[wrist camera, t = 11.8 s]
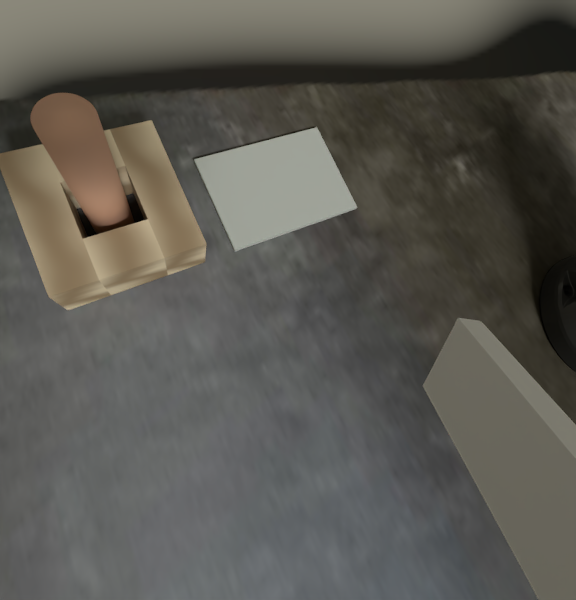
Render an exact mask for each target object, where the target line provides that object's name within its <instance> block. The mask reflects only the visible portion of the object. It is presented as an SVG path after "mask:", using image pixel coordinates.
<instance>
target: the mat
mask: <svg viewBox="0 0 576 600" xmlns="http://www.w3.org/2000/svg"><path fill="white" fill-rule="evenodd" d="M194 163H195V165H196V167H197V170H198V172H199V174H200V176H201V178H202V181H203V183H204V185H205V187H206V189H207V192H208V194H209V196H210V198H211V201H212V203H213V205H214V207H215V209H216V212H217V214H218V216H219V218H220V220H221V223H222V225H223V227H224V229H225V231H226V234H227V236H228V238H229V240H230V243H231V245H232V247H233V249H234V251H238V250H241V249H244V248H246V247H249V246H252V245H255V244H258V243H261V242H263V241H266V240H269V239H272V238H275V237H278V236H281V235H283V234H286V233H289V232H292V231H295V230H298V229H300V228H303V227H306V226H309V225H312V224H315V223H317V222H320V221H323V220H326V219H329V218H332V217H334V216H337V215H340V214H343V213H346V212H349V211H351V210H354V209H356V208H357V206H356V204H355V202H354V200H353V198H352V196H351V194H350V192H349V190H348V188H347V186H346V184H345V182H344V180H343V178H342V176H341V174H340V172H339V170H338V168H337V166H336V164H335V162H334V160H333V158H332V156H331V154H330V152H329V150H328V148H327V146H326V144H325V142H324V140H323V138H322V136H321V135H320V133H319V131H318V129H317V127H316V128H312V129H308V130H304V131H301V132H297V133H293V134H289V135H285V136H282V137H278V138H274V139H270V140H266V141H262V142H259V143H255V144H251V145H247V146H243V147H239V148H236V149H232V150H228V151H224V152H220V153H217V154H213V155H209V156H205V157H201V158H197V159H194Z"/></svg>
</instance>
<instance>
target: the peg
mask: <svg viewBox="0 0 576 600" xmlns="http://www.w3.org/2000/svg"><path fill="white" fill-rule="evenodd" d="M31 124H32V127H33V129H34V131H35V132H36V134H37V136H38V137H39V139H40V141H41V142H42V144H43V146H44V147H45V149H46V151H47V152H48V154H49V155H50V157H51V159H52V160H53V162H54V164H55V165H56V167H57V169H58V170H59V172H60V174H61V175H62V177H63V179H64V180H65V182H66V184H67V185H68V187H69V189H70V190H71V192H72V194H73V195H74V197H75V199H76V200H77V202H78V204H79V205H80V207H81V209H82V210H83V212H84V214H85V215H86V217H87V219H88V220H89V222H90V224H91V225H92V227H93V229H94V230H95V232H96V234H100V233H103V232H107V231H110V230H113V229H117V228H120V227H123V226H127V225H130V224H133V223H135V221H134V219H133V216H132V213H131V210H130V207H129V204H128V201H127V198H126V195H125V192H124V189H123V186H122V183H121V180H120V177H119V175H118V172H117V169H116V166H115V163H114V160H113V157H112V154H111V151H110V148H109V145H108V142H107V139H106V136H105V133H104V131H103V128H102V125H101V122H100V119H99V116H98V113H97V111H96V109H95V108H94V106H93V105H92V104H91V103H90V102H89V101H87V100H86V99H84V98H83V97H81V96H78V95H75V94H70V93H55V94H51V95H48V96H46V97H44V98H42V99H41V100H39V101H38V102H37V103H36V104H35V106H34V107H33V109H32V112H31Z"/></svg>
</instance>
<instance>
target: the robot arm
mask: <svg viewBox="0 0 576 600" xmlns="http://www.w3.org/2000/svg"><path fill="white" fill-rule="evenodd" d="M540 308H541V316H542V320H543V324H544V327H545V330H546V333H547V335H548V337H549V340H550V342H551V343H552V345H553V347H554V349H555V350H556V352H557V353H558V354H559V356H560V357H561V358H562V359H563V361H564V362H565V363H566V364H567V365H568V366H569V367H570V368H572V369H573V370H574V371H575V372H576V255H574V256H571V257H569V258H566V259H563V260H561V261H559V262H558V263H557V264H555V265H554V266H553V267H552V268H551V269H550V271H549V272H548V274H547V275H546V277H545V279H544V282H543V285H542V289H541V296H540ZM423 387H424V389H425V391H426V393H427V395H428V397H429V399H430V400H431V402H432V404H433V406H434V408H435V410H436V411H437V413H438V415H439V417H440V419H441V421H442V422H443V424H444V426H445V428H446V430H447V432H448V434H449V435H450V437H451V439H452V441H453V443H454V445H455V446H456V448H457V450H458V452H459V454H460V456H461V458H462V459H463V461H464V463H465V465H466V467H467V469H468V470H469V472H470V474H471V476H472V478H473V480H474V481H475V483H476V485H477V487H478V489H479V491H480V493H481V494H482V496H483V498H484V500H485V502H486V504H487V505H488V507H489V509H490V511H491V513H492V515H493V517H494V518H495V520H496V522H497V524H498V526H499V528H500V529H501V531H502V533H503V535H504V537H505V539H506V541H507V542H508V544H509V546H510V548H511V550H512V552H513V553H514V555H515V557H516V559H517V561H518V563H519V564H520V566H521V568H522V570H523V572H524V574H525V576H526V577H527V579H528V581H529V583H530V585H531V587H532V588H533V590H534V592H535V594H536V596H537V598H538V600H576V425H575V424H574V423H573V421H572V420H571V419H570V418H569V417H568V416H567V415H566V414H565V413H564V412H563V411H562V409H561V408H560V407H559V406H558V405H557V404H556V403H555V402H554V401H553V400H552V398H551V397H550V396H549V395H548V394H547V393H546V392H545V391H544V390H543V389H542V388H541V386H540V385H539V384H538V383H537V382H536V381H535V380H534V379H533V378H532V377H531V375H530V374H529V373H528V372H527V371H526V370H525V369H524V368H523V367H522V366H521V364H520V363H519V362H518V361H517V360H516V359H515V358H514V357H513V356H512V355H511V354H510V352H509V351H508V350H507V349H506V348H505V347H504V346H503V345H502V344H501V343H500V341H499V340H498V339H497V338H496V337H495V336H494V335H493V334H492V333H491V332H490V331H489V329H488V328H487V327H486V326H485V325H484V324H483V323H482V322H481V321H477V320H470V319H463V318H458V319H457V321H456V323H455V325H454V327H453V329H452V331H451V333H450V334H449V336H448V338H447V340H446V342H445V344H444V346H443V348H442V350H441V352H440V354H439V356H438V358H437V359H436V361H435V363H434V365H433V367H432V369H431V371H430V373H429V375H428V377H427V379H426V381H425V383H424V384H423Z"/></svg>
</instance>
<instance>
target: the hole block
mask: <svg viewBox="0 0 576 600" xmlns="http://www.w3.org/2000/svg"><path fill="white" fill-rule="evenodd" d="M104 133H105V136H106V139H107V142H108V145H109V148H110V151H111V154H112V157H113V160H114V163H115V166H116V169H117V172H118V175H119V177H120V180H121V183H122V186H123V189H124V192H125V195H129V194H132V193H133V194H134V196H135V199H136V201H137V203H138V206H139V208H140V210H141V213H142V215H143V217H144V220H143V221H140V222H137V223H133V224H130V225H127V226H123V227H120V228H117V229H113V230H110V231H107V232H103V233H100V234H97V235H93V236H90V237H88V236H87V234H86V231H85V229H84V226H83V224H82V221H81V219H80V216H79V214H78V211H77V209H78V208H81V207H80V205H79V204H78V202H77V200H76V199H75V197H74V195H73V194H72V192H71V190H70V189H69V187H68V185H67V184H66V182H65V180H64V179H63V177H62V175H61V174H60V172H59V170H58V169H57V167H56V165H55V164H54V162H53V160H52V159H51V157H50V155H49V154H48V152H47V151H46V149H45V147H44V146H43V144H41V145H36V146H32V147H27V148H22V149H18V150H13V151H9V152H4V153H0V169H1V172H2V174H3V177H4V180H5V182H6V185H7V188H8V190H9V193H10V196H11V198H12V201H13V204H14V206H15V209H16V212H17V214H18V217H19V220H20V222H21V225H22V228H23V230H24V233H25V235H26V238H27V241H28V243H29V246H30V249H31V251H32V254H33V257H34V259H35V262H36V265H37V267H38V270H39V273H40V275H41V278H42V281H43V283H44V286H45V289H46V291H47V294H48V296H49V298H51V299H52V300H54V301H55V302H57V303H58V304H60V305H61V306H62V307H64V308H65V309H67V310H70V309H73V308H76V307H79V306H82V305H85V304H87V303H90V302H93V301H96V300H99V299H102V298H104V297H107V296H110V295H113V294H116V293H119V292H122V291H124V290H127V289H130V288H133V287H136V286H139V285H141V284H144V283H147V282H150V281H153V280H156V279H158V278H161V277H164V276H167V275H170V274H173V273H175V272H178V271H181V270H184V269H187V268H190V267H193V266H195V265H198V264H201V263H204V262H205V254H206V242H205V239H204V237H203V235H202V233H201V230H200V228H199V226H198V224H197V221H196V219H195V217H194V215H193V212H192V210H191V208H190V206H189V203H188V201H187V199H186V197H185V194H184V192H183V190H182V188H181V185H180V183H179V181H178V179H177V176H176V174H175V172H174V169H173V167H172V165H171V163H170V160H169V158H168V156H167V154H166V151H165V149H164V147H163V145H162V142H161V140H160V138H159V136H158V133H157V131H156V129H155V127H154V124H153V122H152V120H150V121H145V122H141V123H136V124H132V125H127V126H122V127H118V128H113V129H109V130H104Z"/></svg>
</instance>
